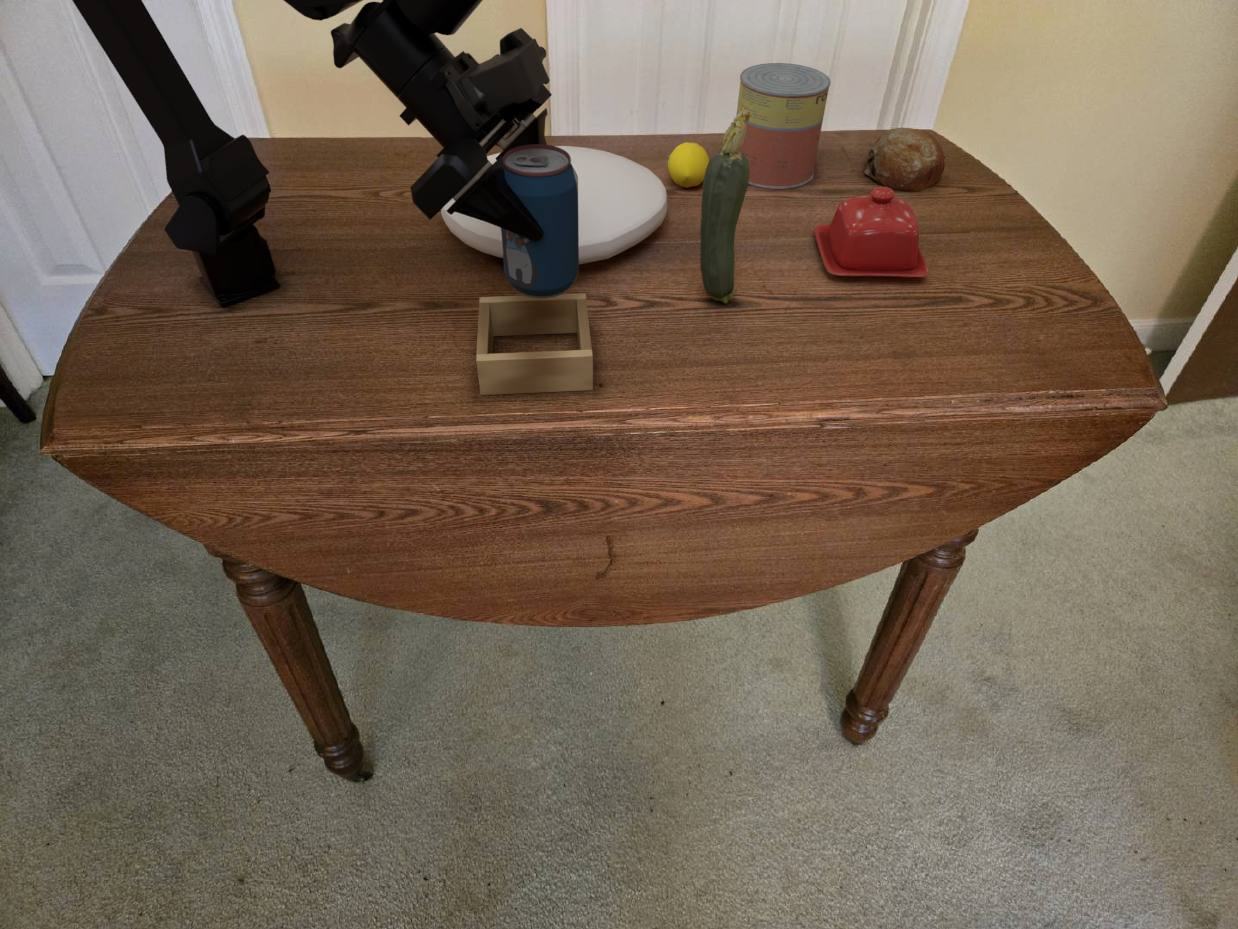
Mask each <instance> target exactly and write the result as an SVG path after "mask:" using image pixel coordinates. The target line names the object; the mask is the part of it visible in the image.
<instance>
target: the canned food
mask: <svg viewBox="0 0 1238 929" xmlns="http://www.w3.org/2000/svg"><path fill="white" fill-rule="evenodd" d="M739 79H740V80H739V81H740V82H739V90H738V99H737V108H736V115H737V114H739V112H741V111H742V108H743V107H746V109H747V110H749V111H750V113H751V114H750V115H751V116H750V119H749V121H747V125H746V134H745V139H744V143H743V145H742V147H740V149H739V151H740V152H741V153H743V154H744V156H745V157H746V158H747V160H748V163H749V169H750V172H749V182H748V185H749V186H753V187H757V188H762V189H767V190H769V189H770V190H789V189H795V188H798V187H802V186H804V185H806V184H808V183H809V182H810V181H811V180H813V178H814V174H815V172H814V170H815V164H816V160H817V154H818V149H819V143H820V137H821V132H822V127H823V123H824V122H823V121H824V116H825V111H826V105H827V100H828V95H829V89H830V87H831V83H832V82H831V79H830V77H829V76H828V75H827V74H826V73H824V72H822V71H821V70H818V69H816V68H813V67H810V66H805V65H802V64H795V63H786V62H785V63H784V62H767V63H760V64H756V65H751V66H749V67H747V68H745V69H743V70H742V71H741V72H740V75H739Z"/></svg>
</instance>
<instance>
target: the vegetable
mask: <svg viewBox="0 0 1238 929" xmlns="http://www.w3.org/2000/svg"><path fill="white" fill-rule="evenodd" d="M750 114H751V113H750V111H749V110H747V109H746V107H743V108H742V111H741V112H739V114H737V113H736V116H735V117H734V118H733V122H730V125H729V126H728V127H727V128H726V130H725V132H724V135H723V137H722V139H721V140H722V141H721V149H720V150H718V151H716V152H715V154H713V156H711V158H709V163H708V165H707V168H706V171H705V176H704V180H703V181H702V182H703V183H702V192H701V193H702V194H701V195H702V196H701V205H700V206H701V210H700V211H701V213H700V214H701V216H700V255H699V259H700V260H699V262H700V264H699V265H700V271H701V272H700V273H701V279H702V285H703V288H704V290H705V292H706V293H707V294H708V295H709V296H711V298H712V299H713V300H715V301H716V302H719V301H720V302H722V303H723V304H728V302H729V301H732V300H733V297H734V288H735V237H736V229H737V224H738V221H739V217H740V214H741V211H742V207H743V204H744V201H745V197H746V193H747V190H748V186H749V184H748V182H749V172H750V169H749V163H748V160H747V158H746V157H745V156H744V154H743V153H741V152H740V151H739V149H740V147H742V145H743V143H744V139H745V134H746V125H747V121H749V119H750V116H751V115H750Z"/></svg>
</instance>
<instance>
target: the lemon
mask: <svg viewBox="0 0 1238 929" xmlns="http://www.w3.org/2000/svg"><path fill="white" fill-rule="evenodd" d="M709 161H710V157H709V155H708V153H707V151H706V148H704V147H703V146H702V145H700V144H699V143H697V142H686V141H685V142H683V143H681V144H679V145H677V146H676V147H675V148H674V149H673V150H672V151H671V153H670V154H669V156H668V162H667V168H668V172H669V175H670V179H671V180H673V182H674V183H675V184H676V185H679V186H681V187H684V188H687V189H688V188H691V187H696V186H700V185H701V184H702V182H703V181H704V176H705V171H706V168H707V165H708V163H709Z"/></svg>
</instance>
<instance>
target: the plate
mask: <svg viewBox="0 0 1238 929" xmlns="http://www.w3.org/2000/svg"><path fill="white" fill-rule="evenodd" d="M555 146H556V147H558V148H561V149H563V150H565V151H566V152H567V153H568V154H569V155H570V157H571V164H572V166H573V168H574V170H575V172H576V174H577V176H578V235H579V265H583V264H589V263H593V262H598V261H604V260H609V259H611V258H612V257H614V256H617V255H619V254H620V253H623V252H625V251H626V250H628V249H630V248H632V247H634V246H636V245H637V244H639V243H641V242H642V241H643V240H645V239H647V238H648V237H649V236H650V235H652V234H653V233H654V232H655V231H656V230H657V229H659V227H660V226H661V225H662V224H663V222H664V220H665V218H666V215H667V213H668V194H667V188H666V186H665V185H664V183H663V181H662V180H661V179H660V178H659V177H658V176H657V175H655V173H654V172H652V171H651V169H649V168H648V167H645V166H643V165H641V164H639V163H637V162H635V161H633V160H631V159H629V158H627V157H625V156H622V155H618V154H615V153H613V152H608V151H606V150H601V149H596V148H590V147H584V146H583V147H582V146H572V145H555ZM500 153H501V152H498V153H493V154H491V155H487V159H488V160H489V161H490V162H491V163H492V165H493V164H494V163H495V162H496V161H497V160H496V159H495V158H496V157H497V156H498V155H499V154H500ZM454 202H455V200H454V199H453V198H452V199H451V200H450V201H449V202H448V203H447V204H446V205H445V206H444V207H443V208H442V209H441V210H440V212H441V213H440V214H441V219H442V220H443V222H444V224H445V225H446V227H447V228H448V230H449V231H450V232H451V233H452V234H453V235H454V236H455V237H456V238H457V239H459V241H461V242H462V243H463V244H465V245H466V246H468V247H471V248H472V249H475V250H477V251H479V252H480V253H483V254H487V255H490V256H494V257H497V258H500V259H503V249H502V237H501V228H500V227H498V226H495V225H493V224H490V223H487V222H484V221H482V220H478V219H475V218H472V217H469V216H466V215H463V214H460V213H457V212H454V213H453V214H452V215H451V214H449V213H448V212H447V209H448V208H449V207H450V206H451V205H452V204H453V203H454Z"/></svg>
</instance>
